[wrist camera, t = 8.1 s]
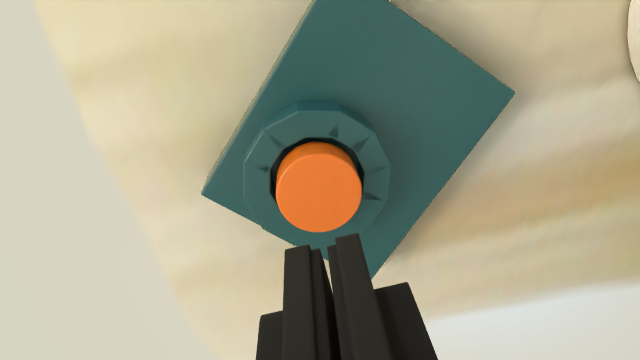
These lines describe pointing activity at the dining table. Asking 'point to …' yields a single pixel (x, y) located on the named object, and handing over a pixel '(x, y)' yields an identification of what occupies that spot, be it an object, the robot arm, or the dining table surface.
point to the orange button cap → (318, 187)
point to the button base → (360, 121)
